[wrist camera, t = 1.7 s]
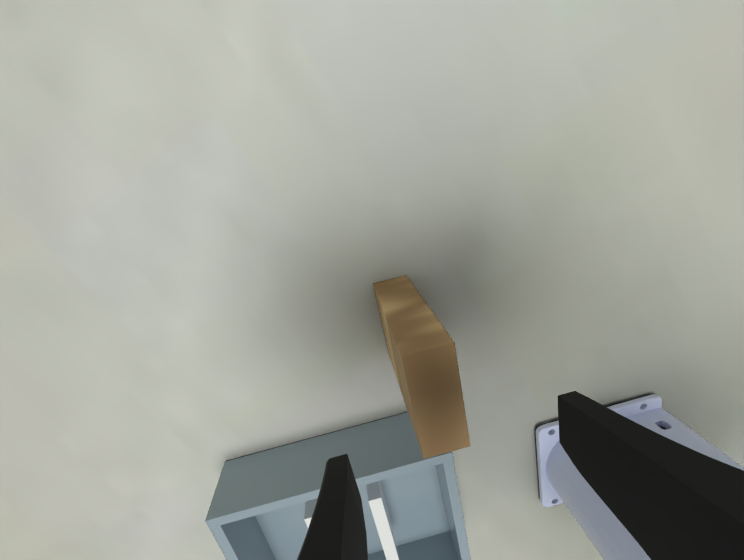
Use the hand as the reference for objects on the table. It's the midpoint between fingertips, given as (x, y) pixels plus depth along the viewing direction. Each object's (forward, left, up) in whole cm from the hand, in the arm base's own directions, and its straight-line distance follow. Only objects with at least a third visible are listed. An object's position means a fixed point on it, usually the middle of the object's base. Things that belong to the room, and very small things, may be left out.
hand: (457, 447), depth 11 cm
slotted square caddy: (+6, +13, -10) cm, 18 cm away
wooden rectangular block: (0, 0, -10) cm, 10 cm away
